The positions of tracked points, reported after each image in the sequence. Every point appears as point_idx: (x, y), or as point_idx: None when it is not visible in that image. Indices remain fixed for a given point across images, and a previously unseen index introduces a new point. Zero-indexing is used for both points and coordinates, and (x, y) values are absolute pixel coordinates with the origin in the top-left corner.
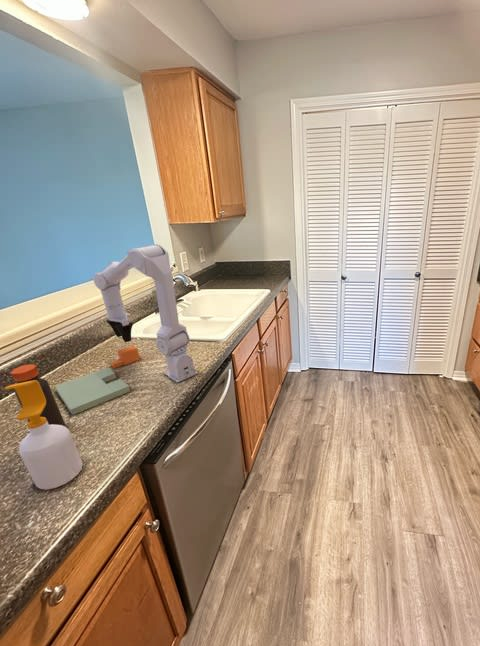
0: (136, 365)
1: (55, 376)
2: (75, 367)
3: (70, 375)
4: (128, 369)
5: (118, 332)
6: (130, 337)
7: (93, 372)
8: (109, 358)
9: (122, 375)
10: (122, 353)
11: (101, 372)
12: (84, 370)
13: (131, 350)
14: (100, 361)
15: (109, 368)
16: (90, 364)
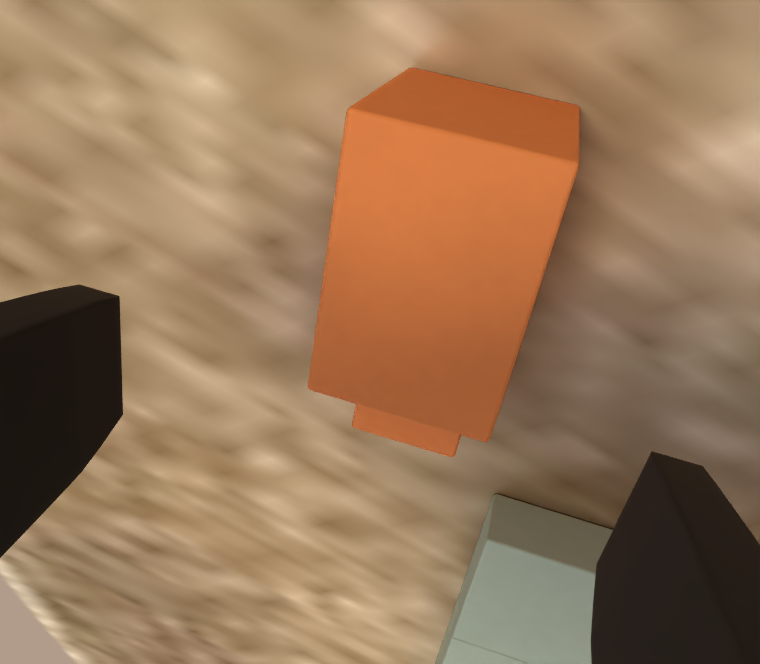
0: (700, 266)
1: (133, 643)
2: (82, 518)
3: (214, 614)
4: (683, 385)
5: (29, 453)
6: (746, 551)
7: (454, 646)
8: (131, 278)
9: (747, 507)
10: (494, 417)
11: (545, 634)
12: (216, 534)
13: (542, 276)
14: (132, 366)
15: (543, 558)
16: (124, 443)
